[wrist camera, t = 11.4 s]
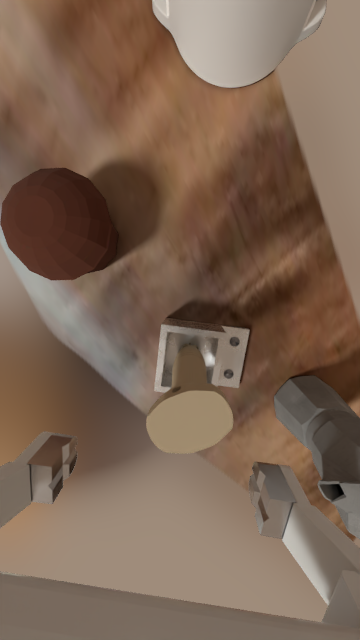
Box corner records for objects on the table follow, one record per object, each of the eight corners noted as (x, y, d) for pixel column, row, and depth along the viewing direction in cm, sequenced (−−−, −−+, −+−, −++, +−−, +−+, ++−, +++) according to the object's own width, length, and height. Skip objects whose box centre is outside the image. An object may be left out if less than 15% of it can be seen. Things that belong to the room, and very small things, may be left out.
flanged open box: (165, 317, 30) (161, 324, 25) (248, 328, 29) (259, 337, 25) (159, 374, 31) (154, 391, 27) (237, 385, 31) (245, 403, 26)
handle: (216, 359, 30) (242, 435, 15) (176, 375, 30) (163, 463, 16) (203, 329, 29) (217, 379, 14) (162, 347, 30) (135, 410, 15)
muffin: (72, 294, 30) (15, 300, 20) (31, 221, 28) (-53, 189, 18) (143, 256, 28) (119, 243, 19) (104, 178, 27) (55, 118, 17)
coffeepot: (252, 419, 32) (328, 587, 14) (269, 364, 30) (382, 479, 13) (348, 440, 32) (543, 637, 14) (371, 387, 30) (627, 535, 13)
